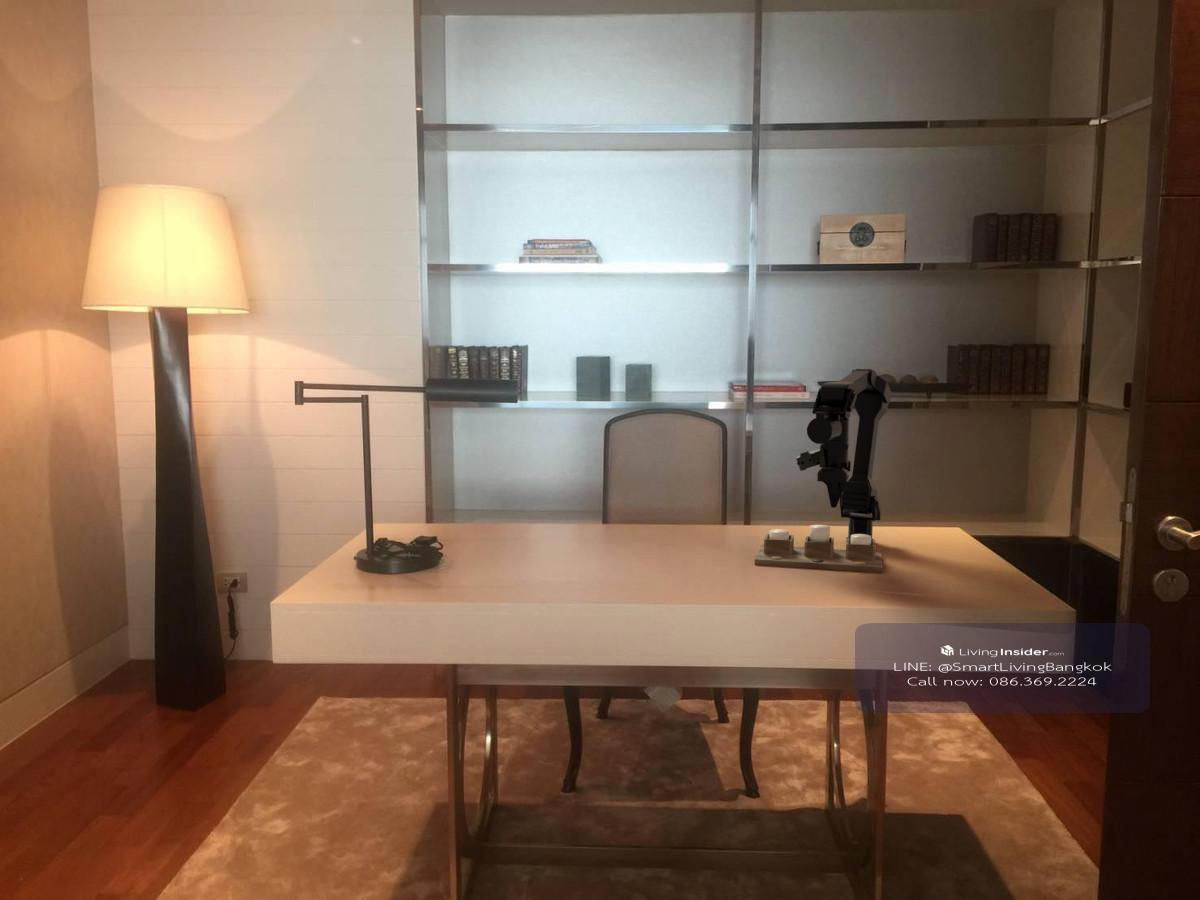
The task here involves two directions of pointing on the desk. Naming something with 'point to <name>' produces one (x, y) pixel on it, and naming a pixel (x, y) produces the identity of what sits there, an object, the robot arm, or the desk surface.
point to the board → (819, 555)
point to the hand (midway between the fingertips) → (833, 507)
